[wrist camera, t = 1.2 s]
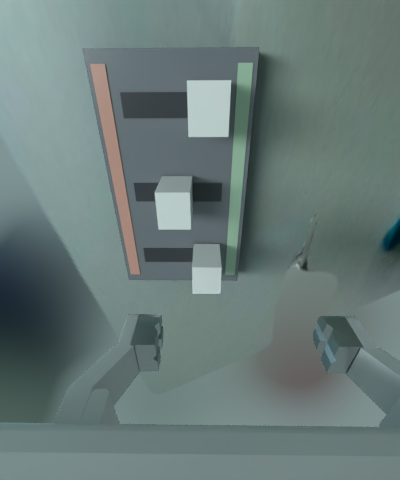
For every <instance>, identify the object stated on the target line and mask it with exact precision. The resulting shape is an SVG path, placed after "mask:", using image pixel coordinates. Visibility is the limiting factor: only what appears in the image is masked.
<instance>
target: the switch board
mask: <svg viewBox="0 0 400 480" xmlns="http://www.w3.org/2000/svg"><path fill="white" fill-rule="evenodd" d="M259 48H260V47H221V48H101V49H83V54H84V59H85V64H86V69H87V74H88V79H89V84H90V89H91V94H92V99H93V104H94V109H95V114H96V119H97V123H98V128H99V133H100V138H101V143H102V148H103V153H104V158H105V163H106V168H107V173H108V178H109V183H110V188H111V193H112V198H113V203H114V208H115V213H116V218H117V222H118V227H119V232H120V237H121V242H122V247H123V252H124V257H125V262H126V267H127V272H128V277H129V280H192V260H193V246H194V244H220V255H221V266H222V271H221V280H231V281H237V277H238V267H239V256H240V246H241V236H242V225H243V215H244V204H245V194H246V183H247V173H248V162H249V152H250V142H251V131H252V121H253V110H254V100H255V89H256V79H257V68H258V58H259ZM187 80H231V95H230V115H229V134H228V137H188V106H187ZM162 176H192V193H193V213H192V224H191V230H158V221H157V211H156V202H155V190H156V188H157V186H158V184H159V182H160V179H161V177H162Z"/></svg>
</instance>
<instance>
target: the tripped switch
mask: <svg viewBox="0 0 400 480" xmlns="http://www.w3.org/2000/svg"><path fill="white" fill-rule="evenodd" d="M155 202H156V211H157V221H158V230H191V224H192V213H193V193H192V176H162V177H161V179H160V182H159V184H158V186H157V188H156V190H155Z"/></svg>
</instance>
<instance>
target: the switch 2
mask: <svg viewBox="0 0 400 480" xmlns="http://www.w3.org/2000/svg"><path fill="white" fill-rule="evenodd" d="M221 271H222V266H221V255H220V244H194V246H193V260H192V285H193V294H220V291H221Z"/></svg>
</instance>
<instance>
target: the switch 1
mask: <svg viewBox="0 0 400 480" xmlns="http://www.w3.org/2000/svg"><path fill="white" fill-rule="evenodd" d="M230 95H231V80H187V106H188V137H228V134H229V115H230Z"/></svg>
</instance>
